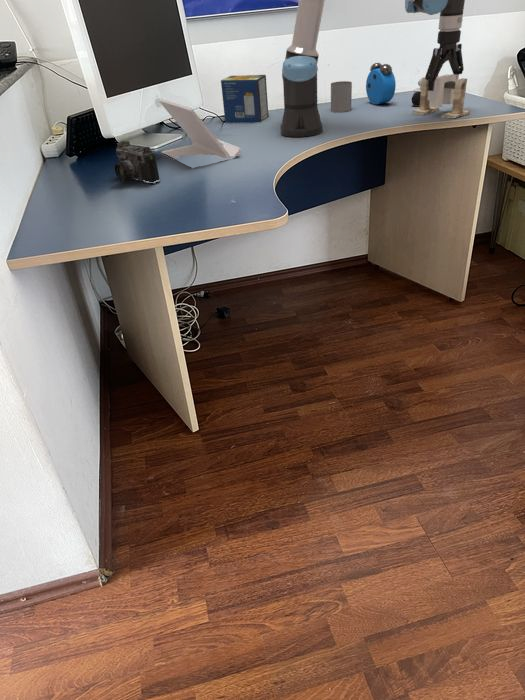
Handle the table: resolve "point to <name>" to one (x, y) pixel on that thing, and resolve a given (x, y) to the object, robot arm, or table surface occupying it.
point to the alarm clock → (380, 84)
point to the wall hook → (419, 85)
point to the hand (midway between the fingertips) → (442, 97)
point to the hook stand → (457, 100)
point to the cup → (341, 96)
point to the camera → (136, 163)
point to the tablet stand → (196, 134)
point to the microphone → (416, 98)
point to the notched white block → (443, 91)
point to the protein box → (245, 98)
